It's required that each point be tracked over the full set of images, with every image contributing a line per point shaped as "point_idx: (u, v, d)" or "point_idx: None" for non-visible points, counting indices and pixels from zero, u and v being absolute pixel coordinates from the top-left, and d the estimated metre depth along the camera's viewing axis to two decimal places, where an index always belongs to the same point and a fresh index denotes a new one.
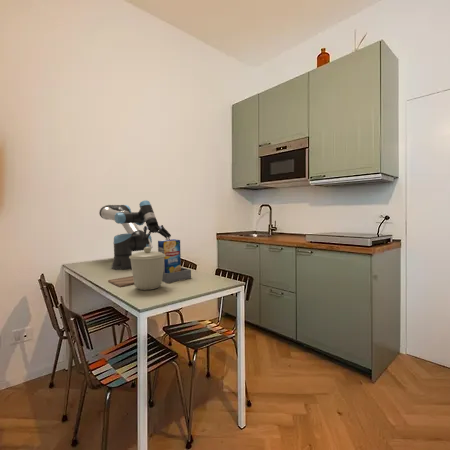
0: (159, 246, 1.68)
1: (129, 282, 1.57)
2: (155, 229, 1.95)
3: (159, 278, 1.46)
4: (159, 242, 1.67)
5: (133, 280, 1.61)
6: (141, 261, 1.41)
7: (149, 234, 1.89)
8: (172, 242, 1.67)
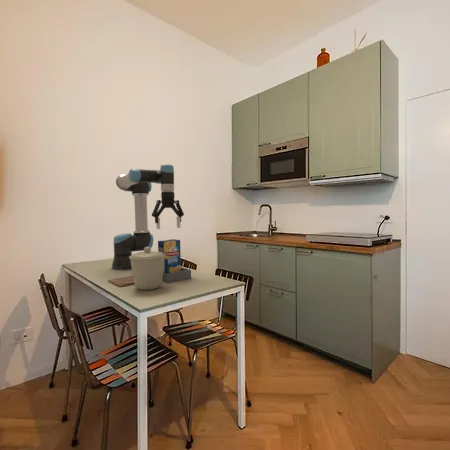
0: (159, 246, 1.68)
1: (129, 282, 1.57)
2: (169, 205, 1.68)
3: (159, 278, 1.46)
4: (159, 242, 1.67)
5: (133, 280, 1.61)
6: (141, 261, 1.41)
7: (161, 211, 1.65)
8: (172, 242, 1.67)
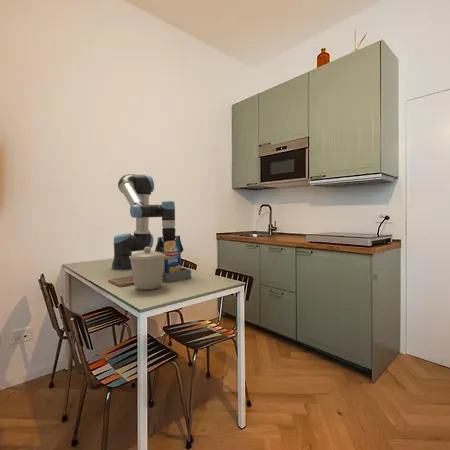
0: None
1: (129, 282, 1.57)
2: None
3: (159, 278, 1.46)
4: None
5: (133, 280, 1.61)
6: (141, 261, 1.41)
7: None
8: (172, 242, 1.67)
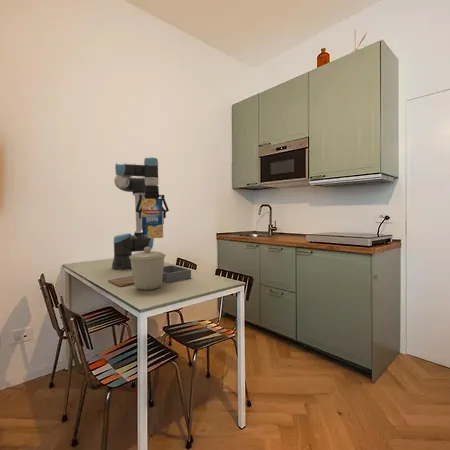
0: None
1: (129, 282, 1.57)
2: None
3: (159, 278, 1.46)
4: None
5: (133, 280, 1.61)
6: (141, 261, 1.41)
7: None
8: (151, 200, 1.62)
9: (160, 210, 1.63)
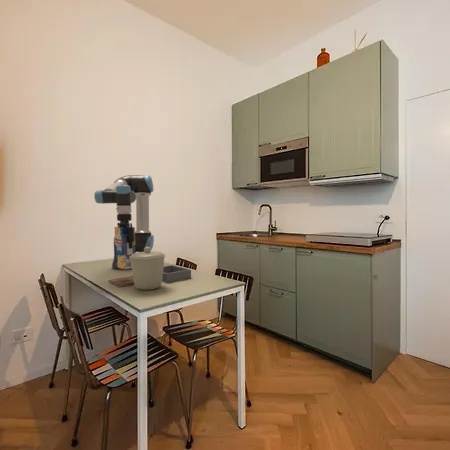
0: None
1: (129, 282, 1.57)
2: None
3: (159, 278, 1.46)
4: None
5: (133, 280, 1.61)
6: (141, 261, 1.41)
7: None
8: (118, 229, 1.57)
9: (122, 240, 1.54)
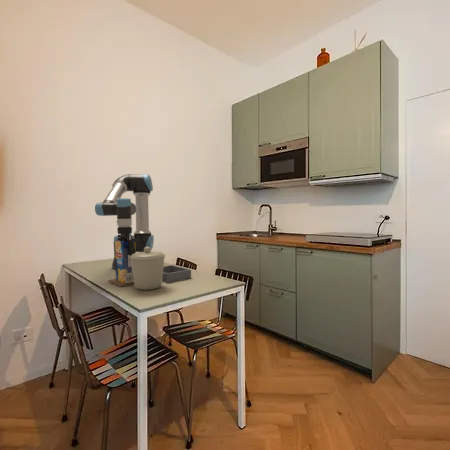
0: None
1: (129, 282, 1.57)
2: None
3: (159, 278, 1.46)
4: None
5: None
6: (141, 261, 1.41)
7: None
8: (119, 243, 1.58)
9: (122, 254, 1.55)
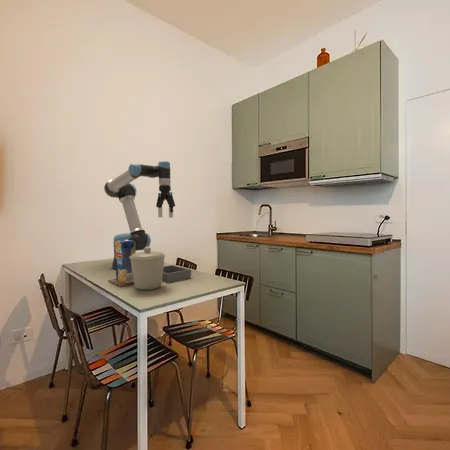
0: None
1: (129, 282, 1.57)
2: (163, 197, 1.91)
3: (159, 278, 1.46)
4: None
5: None
6: (141, 261, 1.41)
7: (159, 203, 1.95)
8: (119, 243, 1.58)
9: (122, 254, 1.55)
